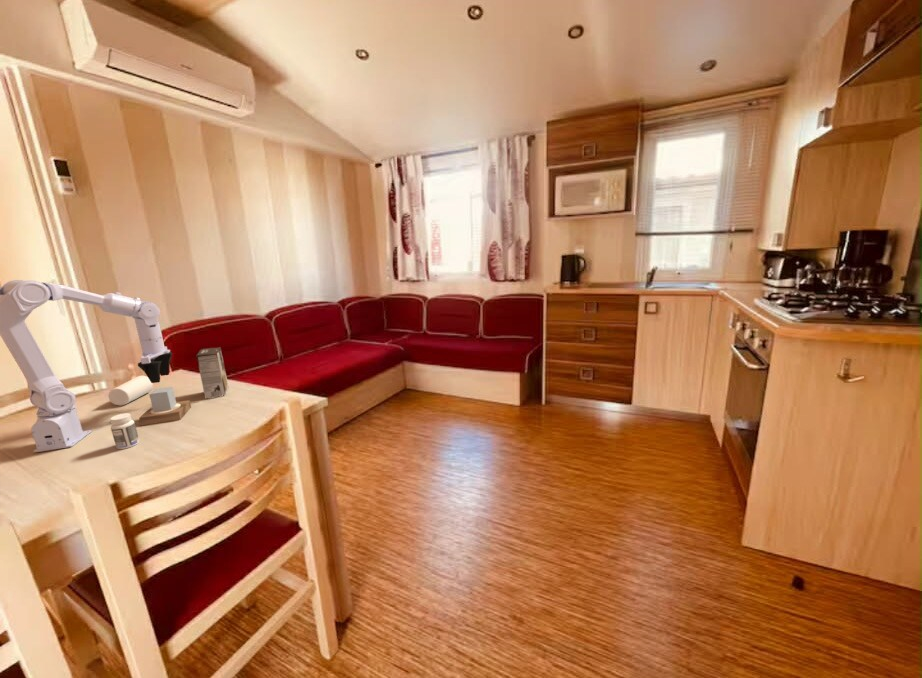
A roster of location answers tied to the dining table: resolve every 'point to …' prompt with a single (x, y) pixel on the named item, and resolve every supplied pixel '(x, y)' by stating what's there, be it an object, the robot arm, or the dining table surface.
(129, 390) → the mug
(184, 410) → the plinth
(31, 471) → the dining table surface
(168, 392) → the block
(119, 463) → the dining table surface
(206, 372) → the coffee box
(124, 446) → the pill bottle
